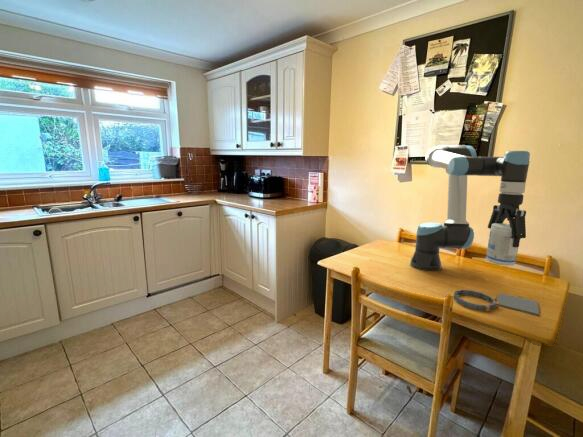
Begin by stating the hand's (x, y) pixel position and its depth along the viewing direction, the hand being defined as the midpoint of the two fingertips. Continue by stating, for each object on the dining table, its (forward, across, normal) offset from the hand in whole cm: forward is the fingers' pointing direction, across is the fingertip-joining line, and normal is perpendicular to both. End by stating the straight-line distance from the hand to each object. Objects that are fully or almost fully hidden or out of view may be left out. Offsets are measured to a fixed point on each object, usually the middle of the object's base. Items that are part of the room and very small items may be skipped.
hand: (502, 250), depth 115 cm
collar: (+22, -1, -8) cm, 23 cm away
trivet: (+22, 0, +9) cm, 24 cm away
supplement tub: (+5, 0, 0) cm, 5 cm away
